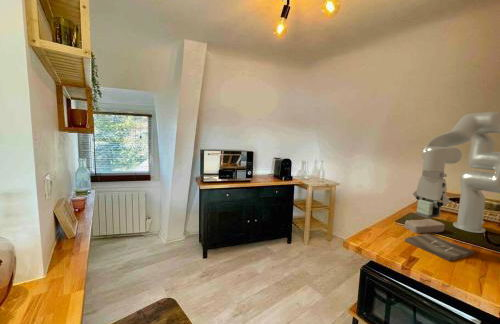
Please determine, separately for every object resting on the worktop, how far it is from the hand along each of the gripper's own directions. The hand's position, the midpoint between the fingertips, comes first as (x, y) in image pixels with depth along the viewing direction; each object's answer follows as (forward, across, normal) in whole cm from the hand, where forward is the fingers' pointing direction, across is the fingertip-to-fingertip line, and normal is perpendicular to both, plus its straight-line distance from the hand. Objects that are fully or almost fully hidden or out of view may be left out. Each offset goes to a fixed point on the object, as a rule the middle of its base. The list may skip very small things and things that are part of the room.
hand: (428, 212), depth 103 cm
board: (+15, -5, 0) cm, 15 cm away
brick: (+15, +10, -15) cm, 24 cm away
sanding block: (+1, 0, 0) cm, 1 cm away
